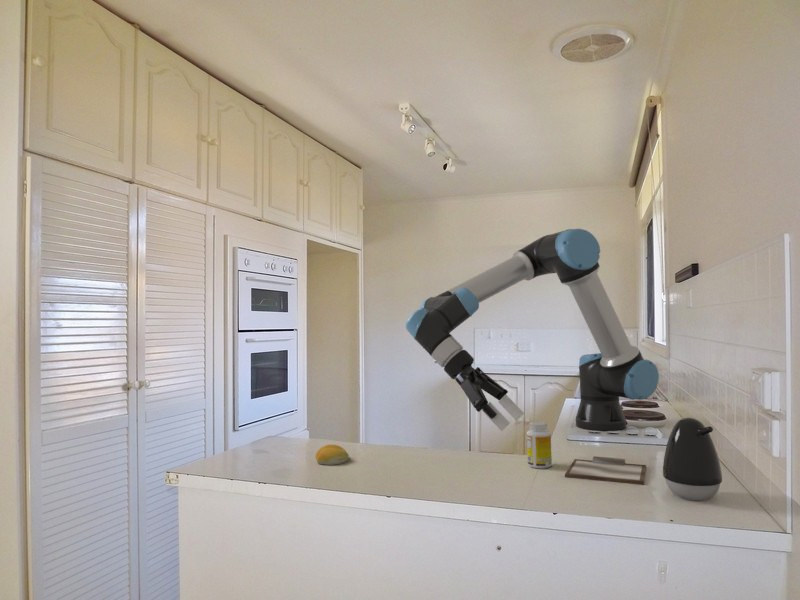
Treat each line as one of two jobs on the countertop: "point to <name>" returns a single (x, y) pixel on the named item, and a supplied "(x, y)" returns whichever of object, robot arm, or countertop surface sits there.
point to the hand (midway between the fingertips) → (513, 422)
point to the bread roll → (331, 455)
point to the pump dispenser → (692, 461)
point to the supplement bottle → (539, 446)
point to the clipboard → (607, 470)
